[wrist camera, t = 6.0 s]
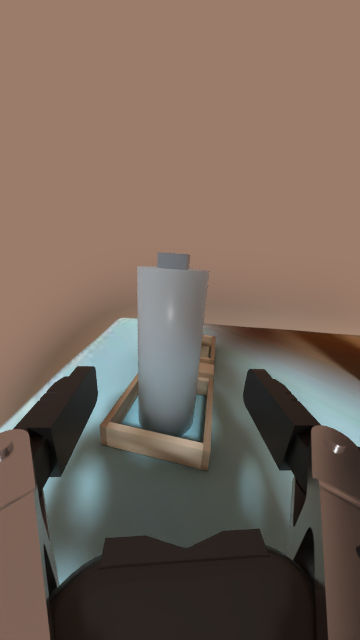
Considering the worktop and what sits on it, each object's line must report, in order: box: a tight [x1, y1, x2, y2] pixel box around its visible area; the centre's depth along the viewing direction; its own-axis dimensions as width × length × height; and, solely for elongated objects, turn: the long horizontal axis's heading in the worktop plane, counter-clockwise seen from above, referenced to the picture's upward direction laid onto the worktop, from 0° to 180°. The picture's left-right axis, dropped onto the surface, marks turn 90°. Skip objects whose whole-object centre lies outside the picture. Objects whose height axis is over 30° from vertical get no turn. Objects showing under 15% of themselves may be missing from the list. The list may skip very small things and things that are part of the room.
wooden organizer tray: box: [100, 335, 215, 471], centre depth 22 cm, size 8×20×2 cm, turn 169°
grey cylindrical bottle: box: [137, 253, 209, 437], centre depth 15 cm, size 5×5×14 cm
